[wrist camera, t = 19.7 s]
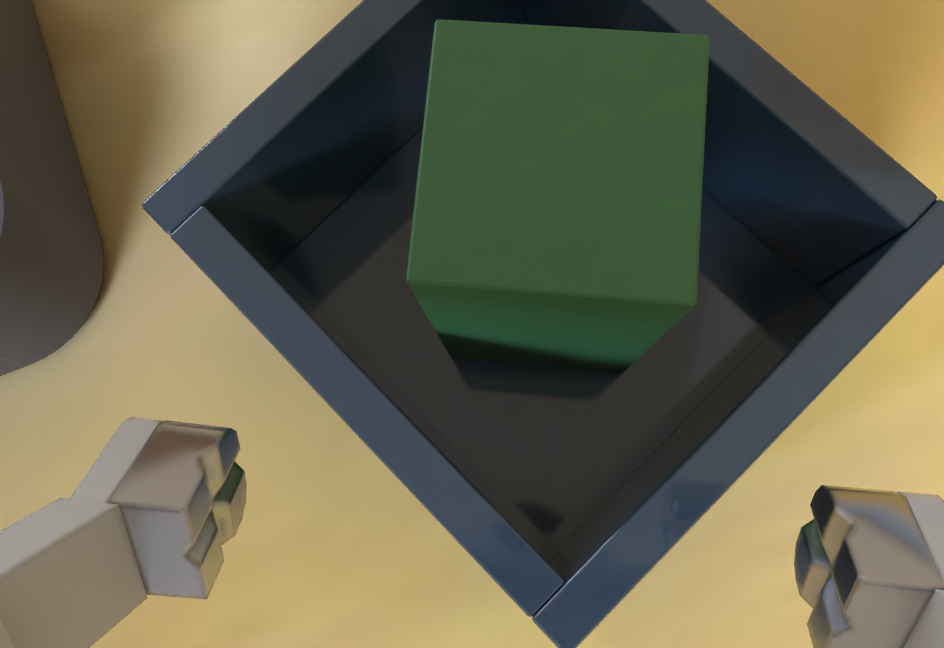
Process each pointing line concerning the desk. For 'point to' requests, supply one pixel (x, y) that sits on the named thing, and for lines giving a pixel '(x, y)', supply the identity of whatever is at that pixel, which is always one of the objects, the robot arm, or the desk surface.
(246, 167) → the dark blue tray
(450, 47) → the green block
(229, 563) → the desk surface
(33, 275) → the streaming box
